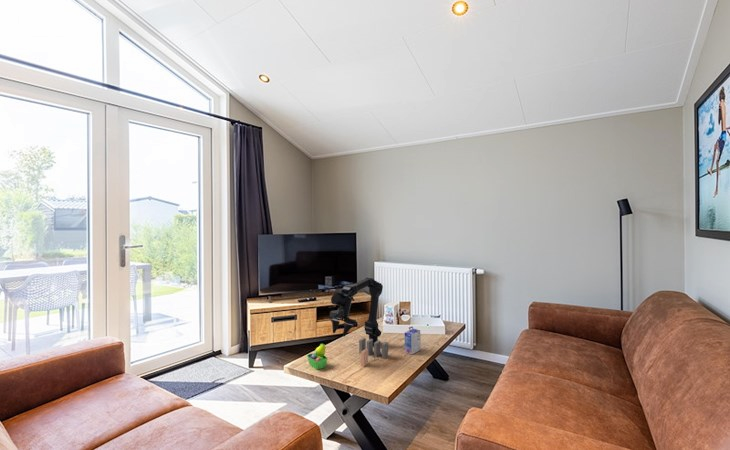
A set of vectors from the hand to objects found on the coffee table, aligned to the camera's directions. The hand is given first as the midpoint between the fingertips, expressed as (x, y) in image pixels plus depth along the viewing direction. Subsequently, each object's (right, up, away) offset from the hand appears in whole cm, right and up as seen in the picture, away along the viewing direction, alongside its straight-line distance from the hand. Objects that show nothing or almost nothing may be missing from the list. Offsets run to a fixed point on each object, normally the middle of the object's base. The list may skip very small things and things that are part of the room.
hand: (338, 334), depth 193 cm
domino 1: (+14, -14, +12) cm, 23 cm away
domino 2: (+15, -15, -6) cm, 22 cm away
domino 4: (+22, -14, +7) cm, 27 cm away
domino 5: (+27, -14, +4) cm, 31 cm away
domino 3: (+18, -14, +9) cm, 25 cm away
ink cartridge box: (+44, -14, +13) cm, 48 cm away
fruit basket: (-11, -15, -6) cm, 20 cm away
